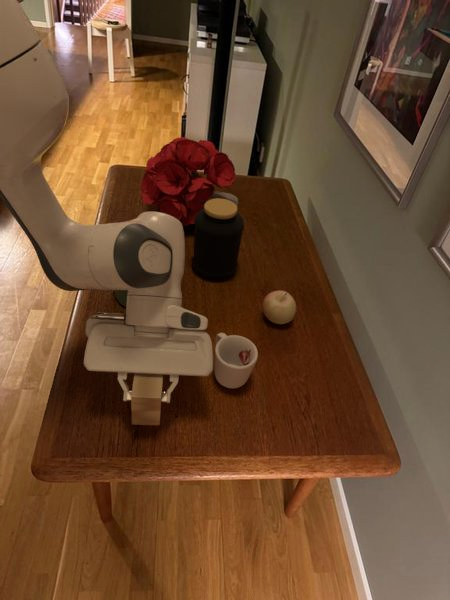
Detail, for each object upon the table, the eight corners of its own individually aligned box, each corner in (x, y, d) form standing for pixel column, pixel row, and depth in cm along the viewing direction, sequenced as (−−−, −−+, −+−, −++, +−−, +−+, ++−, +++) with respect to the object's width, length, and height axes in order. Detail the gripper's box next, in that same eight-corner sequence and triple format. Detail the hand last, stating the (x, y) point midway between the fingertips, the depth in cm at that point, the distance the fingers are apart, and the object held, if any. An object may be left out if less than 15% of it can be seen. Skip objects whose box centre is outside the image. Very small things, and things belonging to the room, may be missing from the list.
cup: (197, 357, 81) (201, 330, 76) (232, 346, 85) (238, 320, 79) (221, 399, 75) (227, 373, 69) (258, 386, 78) (266, 360, 73)
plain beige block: (131, 424, 66) (130, 396, 60) (135, 400, 69) (134, 372, 63) (159, 425, 66) (161, 398, 61) (161, 401, 69) (163, 373, 64)
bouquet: (197, 211, 135) (120, 180, 113) (238, 152, 125) (163, 105, 104) (226, 252, 123) (146, 225, 101) (274, 189, 113) (198, 145, 92)
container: (179, 265, 102) (184, 202, 90) (212, 248, 109) (220, 188, 97) (214, 290, 97) (224, 227, 85) (245, 270, 104) (258, 209, 92)
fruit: (291, 309, 95) (300, 284, 90) (291, 332, 90) (301, 306, 85) (260, 304, 95) (267, 278, 90) (258, 326, 90) (265, 300, 85)
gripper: (82, 310, 60) (75, 403, 60) (217, 319, 63) (211, 408, 62) (91, 311, 66) (84, 394, 66) (213, 319, 69) (207, 399, 69)
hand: (147, 401), depth 64 cm, fingers closed on plain beige block, 4 cm apart
